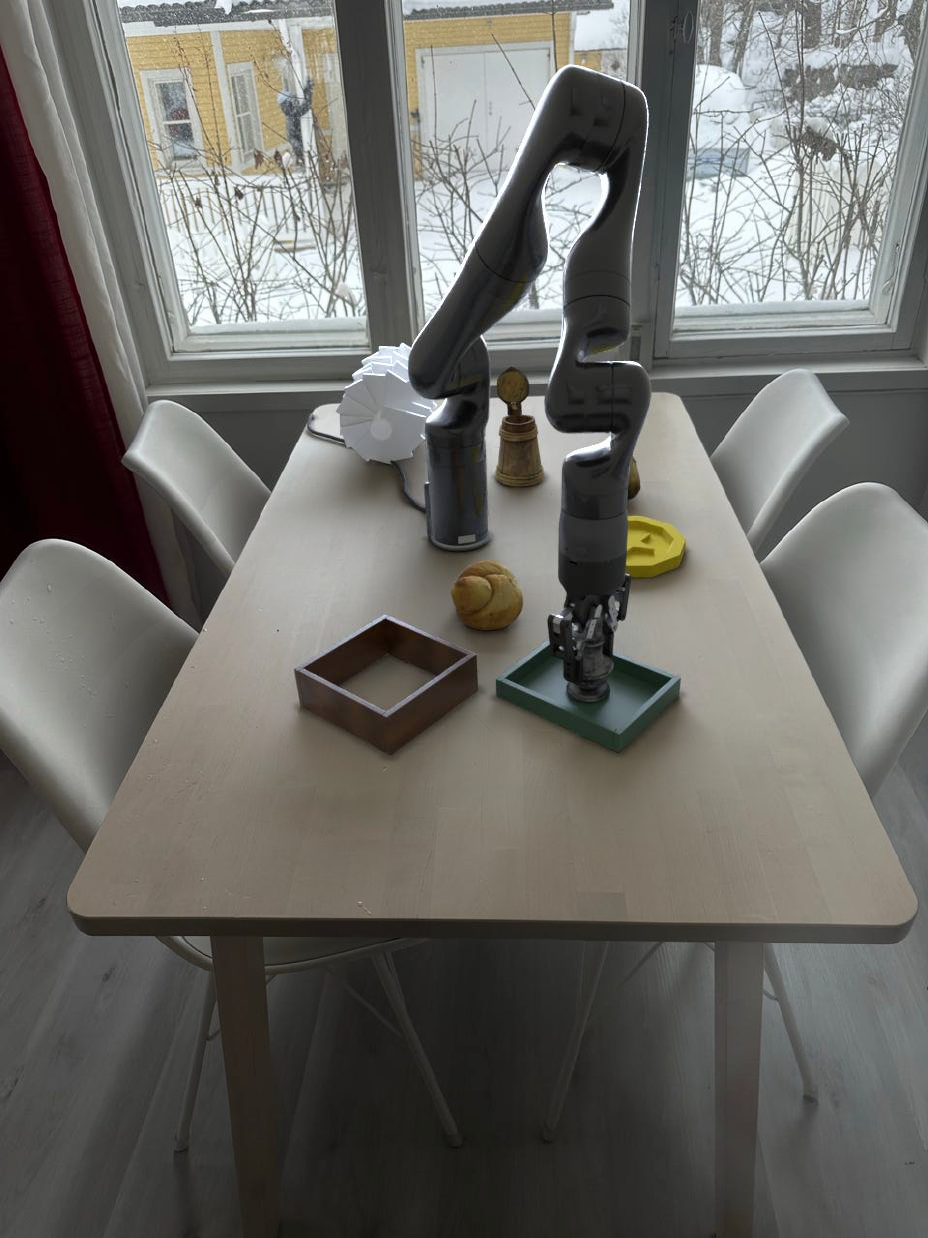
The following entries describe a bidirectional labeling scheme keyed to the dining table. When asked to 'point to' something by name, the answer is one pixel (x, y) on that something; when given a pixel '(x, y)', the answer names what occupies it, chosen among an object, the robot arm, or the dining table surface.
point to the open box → (409, 715)
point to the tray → (605, 721)
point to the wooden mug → (517, 434)
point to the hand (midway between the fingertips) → (588, 668)
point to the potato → (633, 480)
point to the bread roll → (487, 596)
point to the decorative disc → (652, 547)
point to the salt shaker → (593, 669)
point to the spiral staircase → (384, 408)
